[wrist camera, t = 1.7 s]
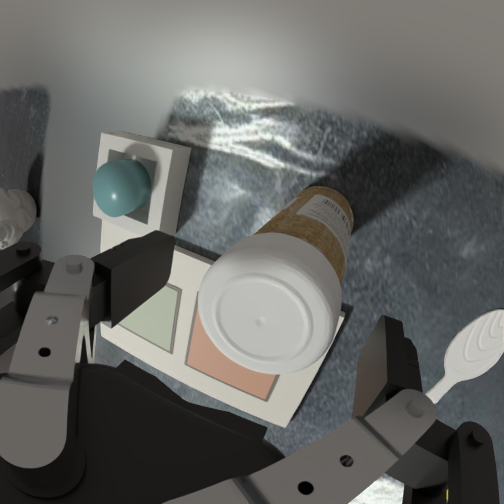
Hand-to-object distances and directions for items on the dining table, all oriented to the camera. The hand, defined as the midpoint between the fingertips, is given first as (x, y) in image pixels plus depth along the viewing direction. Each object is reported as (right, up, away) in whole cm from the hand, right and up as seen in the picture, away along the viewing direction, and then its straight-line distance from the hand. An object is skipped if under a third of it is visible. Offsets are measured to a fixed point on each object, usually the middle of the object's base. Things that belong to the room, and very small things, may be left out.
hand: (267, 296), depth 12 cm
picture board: (-5, -5, +17) cm, 18 cm away
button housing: (-9, +7, +14) cm, 18 cm away
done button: (-10, +7, +12) cm, 17 cm away
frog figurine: (-26, +7, +21) cm, 34 cm away
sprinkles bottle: (+4, +4, +10) cm, 12 cm away
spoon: (+16, -10, +11) cm, 22 cm away
